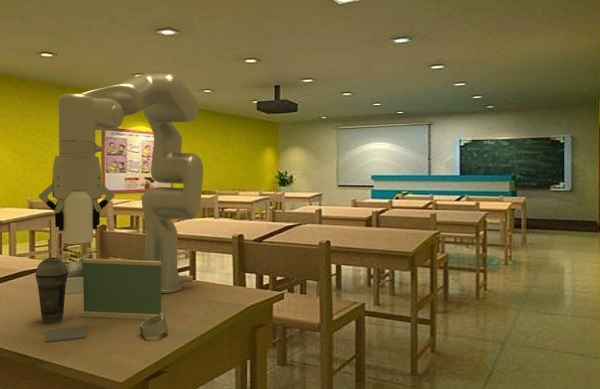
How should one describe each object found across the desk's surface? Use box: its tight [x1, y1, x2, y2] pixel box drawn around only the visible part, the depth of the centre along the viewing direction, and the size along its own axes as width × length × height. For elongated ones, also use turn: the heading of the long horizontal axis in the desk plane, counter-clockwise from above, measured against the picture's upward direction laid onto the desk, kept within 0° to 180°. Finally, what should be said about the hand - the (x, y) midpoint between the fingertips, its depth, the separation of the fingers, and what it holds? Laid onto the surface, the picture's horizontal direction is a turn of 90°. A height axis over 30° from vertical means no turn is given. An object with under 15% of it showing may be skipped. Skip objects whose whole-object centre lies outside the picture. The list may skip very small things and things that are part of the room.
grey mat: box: [44, 325, 87, 343], centre depth 114 cm, size 8×8×1 cm
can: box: [61, 191, 94, 246], centre depth 114 cm, size 6×6×12 cm
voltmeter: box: [62, 247, 94, 278], centre depth 161 cm, size 27×11×10 cm, turn 49°
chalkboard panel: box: [80, 258, 164, 320], centre depth 128 cm, size 20×4×14 cm, turn 85°
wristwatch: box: [138, 312, 169, 338], centre depth 115 cm, size 9×6×5 cm
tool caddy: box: [64, 260, 84, 295], centre depth 162 cm, size 16×28×4 cm, turn 22°
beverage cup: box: [35, 238, 68, 324], centre depth 123 cm, size 7×7×20 cm
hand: (77, 228), depth 114 cm, fingers closed on can, 6 cm apart
